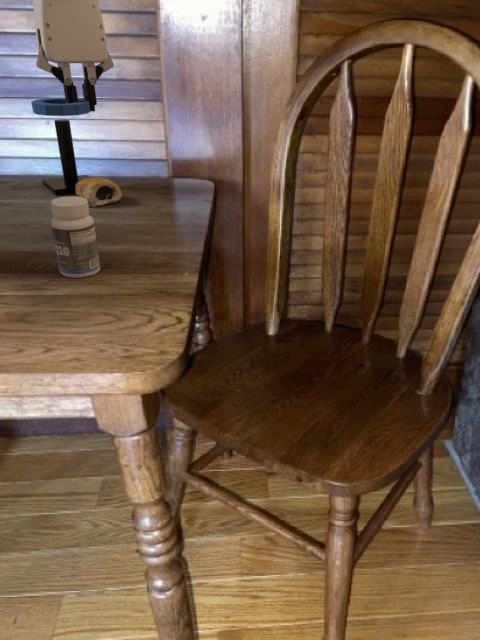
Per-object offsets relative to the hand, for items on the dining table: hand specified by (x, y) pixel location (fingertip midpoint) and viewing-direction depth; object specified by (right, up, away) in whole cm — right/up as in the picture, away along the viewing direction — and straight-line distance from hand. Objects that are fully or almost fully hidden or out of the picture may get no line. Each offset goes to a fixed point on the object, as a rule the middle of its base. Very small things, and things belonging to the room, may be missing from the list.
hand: (82, 109), depth 96 cm
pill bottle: (+9, -32, -28) cm, 44 cm away
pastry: (+3, -16, -2) cm, 16 cm away
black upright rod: (-3, -12, +5) cm, 13 cm away
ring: (-3, -1, -2) cm, 3 cm away
